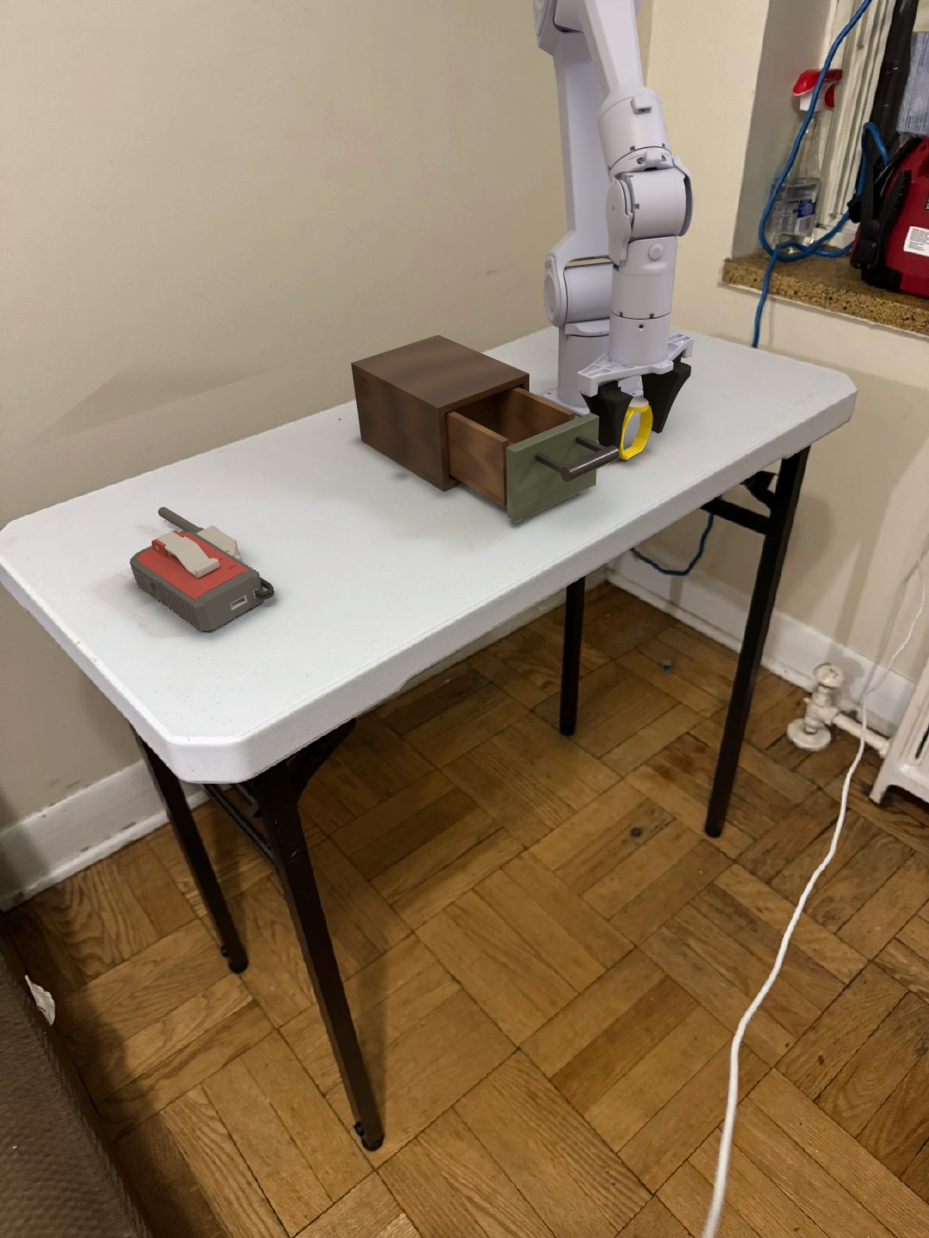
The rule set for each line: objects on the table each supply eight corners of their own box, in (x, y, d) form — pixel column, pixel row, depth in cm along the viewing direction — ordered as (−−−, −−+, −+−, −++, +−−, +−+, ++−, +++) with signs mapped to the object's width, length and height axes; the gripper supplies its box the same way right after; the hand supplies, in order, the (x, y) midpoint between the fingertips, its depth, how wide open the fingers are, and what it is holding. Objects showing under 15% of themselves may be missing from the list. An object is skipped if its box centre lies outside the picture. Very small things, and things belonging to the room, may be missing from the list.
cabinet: (530, 454, 93) (529, 373, 87) (443, 492, 87) (437, 408, 82) (443, 410, 103) (438, 334, 97) (361, 440, 97) (350, 362, 92)
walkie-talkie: (297, 593, 75) (174, 517, 86) (288, 551, 72) (162, 478, 83) (212, 643, 70) (92, 556, 81) (198, 600, 67) (77, 515, 79)
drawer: (632, 503, 82) (638, 433, 78) (551, 544, 77) (552, 471, 73) (501, 436, 95) (500, 372, 90) (424, 468, 90) (419, 402, 85)
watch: (625, 469, 89) (629, 415, 86) (603, 461, 91) (605, 408, 87) (656, 447, 93) (661, 394, 89) (634, 440, 94) (638, 388, 90)
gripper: (617, 340, 76) (609, 476, 85) (724, 300, 83) (706, 430, 91) (562, 321, 81) (559, 452, 89) (668, 284, 88) (656, 410, 96)
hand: (630, 440), depth 91 cm, fingers closed on watch, 6 cm apart
